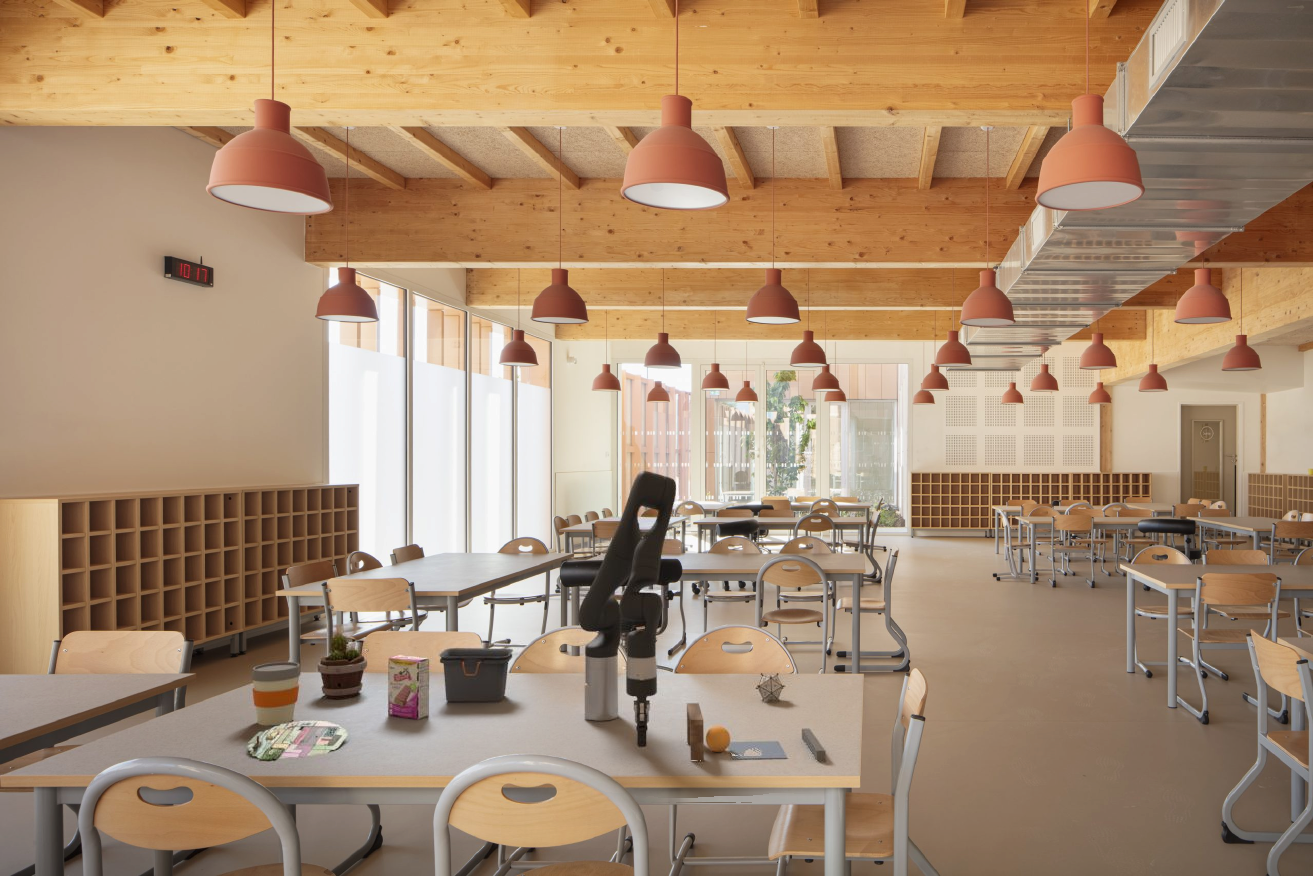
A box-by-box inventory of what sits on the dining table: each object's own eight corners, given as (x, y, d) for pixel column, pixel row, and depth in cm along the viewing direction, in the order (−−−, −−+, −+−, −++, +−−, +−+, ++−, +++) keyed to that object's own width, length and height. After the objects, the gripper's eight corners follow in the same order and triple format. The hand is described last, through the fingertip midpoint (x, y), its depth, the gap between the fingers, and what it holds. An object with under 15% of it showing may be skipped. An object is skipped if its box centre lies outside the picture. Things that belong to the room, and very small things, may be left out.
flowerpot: (373, 696, 266) (374, 631, 267) (322, 704, 257) (322, 636, 258) (360, 687, 278) (361, 625, 279) (311, 694, 269) (311, 629, 270)
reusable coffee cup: (240, 724, 236) (241, 669, 236) (275, 713, 247) (275, 660, 248) (276, 729, 231) (277, 672, 232) (309, 717, 243) (310, 663, 244)
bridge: (691, 761, 202) (690, 719, 202) (687, 742, 217) (686, 703, 217) (703, 761, 202) (703, 719, 203) (698, 742, 217) (698, 703, 217)
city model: (238, 777, 200) (239, 752, 200) (242, 738, 222) (243, 715, 221) (351, 765, 210) (352, 740, 210) (345, 728, 232) (346, 706, 231)
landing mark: (732, 759, 203) (732, 758, 203) (726, 742, 216) (726, 742, 216) (787, 758, 204) (787, 757, 204) (778, 742, 217) (778, 741, 217)
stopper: (816, 761, 201) (816, 750, 201) (801, 738, 219) (801, 728, 219) (825, 761, 201) (825, 750, 201) (809, 738, 219) (809, 728, 219)
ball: (703, 751, 206) (712, 728, 206) (700, 740, 212) (709, 718, 212) (726, 759, 207) (735, 737, 207) (722, 749, 213) (732, 727, 213)
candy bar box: (386, 716, 243) (387, 657, 244) (399, 711, 248) (399, 654, 249) (417, 720, 239) (418, 660, 239) (429, 716, 243) (430, 657, 244)
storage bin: (514, 693, 269) (514, 647, 269) (507, 706, 253) (507, 657, 254) (446, 694, 268) (446, 647, 269) (434, 707, 253) (434, 658, 253)
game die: (773, 715, 255) (775, 693, 249) (749, 701, 259) (750, 679, 254) (789, 695, 261) (791, 673, 255) (765, 682, 265) (766, 660, 260)
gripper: (626, 668, 217) (626, 738, 216) (625, 680, 203) (626, 755, 202) (656, 668, 217) (656, 737, 216) (657, 680, 204) (658, 754, 203)
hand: (641, 746), depth 209 cm, fingers closed
